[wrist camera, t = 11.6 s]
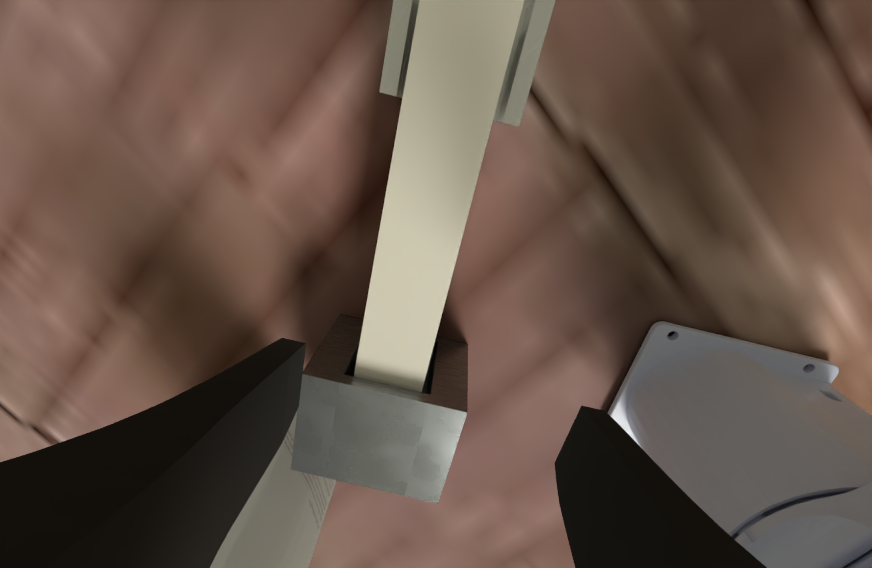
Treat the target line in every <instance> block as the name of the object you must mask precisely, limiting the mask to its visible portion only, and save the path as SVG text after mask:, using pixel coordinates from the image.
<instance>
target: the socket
mask: <svg viewBox="0 0 872 568" xmlns="http://www.w3.org/2000/svg"><path fill="white" fill-rule="evenodd" d="M362 326H363V319H359V318H354V317H350V316H346V315H342V314H340V315H339V317H338V319H337V320H336V322H335V323H334V325H333V326H332V328H331V329H330V331H329V332H328V334H327V335H326V337H325V338H324V340H323V342H322V343H321V345H320V346H319V348H318V349H317V351H316V352H315V354H314V355H313V357H312V358H311V360H310V361H309V363H308V364H307V366H306V368H305V369H304V371H303V373H302V382H301V391H300V400H299V407H298V410H297V418H296V427H295V436H294V445H293V454H292V463H291V470H295V471H299V472H303V473H308V474H312V475H316V476H321V477H325V478H329V479H334V480H338V481H342V482H347V483H351V484H355V485H360V486H364V487H368V488H373V489H377V490H381V491H386V492H390V493H395V494H399V495H403V496H408V497H412V498H416V499H421V500H425V501H429V502H434V503H438V501H439V498H440V495H441V492H442V489H443V486H444V483H445V480H446V477H447V473H448V470H449V467H450V464H451V461H452V458H453V455H454V452H455V449H456V446H457V443H458V440H459V437H460V434H461V431H462V428H463V425H464V421H465V418H466V415H467V391H468V344H464V343H460V342H455V341H451V340H447V339H443V338H439V337H436V339H435V343H434V347H433V351H432V354H431V358H430V362H429V366H428V370H427V373H426V377H425V381H424V385H423V389H422V392H418V391H413V390H409V389H405V388H401V387H396V386H392V385H388V384H384V383H379V382H375V381H371V380H367V379H362V378H358V377H354V372H355V366H356V360H357V355H358V349H359V343H360V338H361V332H362Z"/></svg>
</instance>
